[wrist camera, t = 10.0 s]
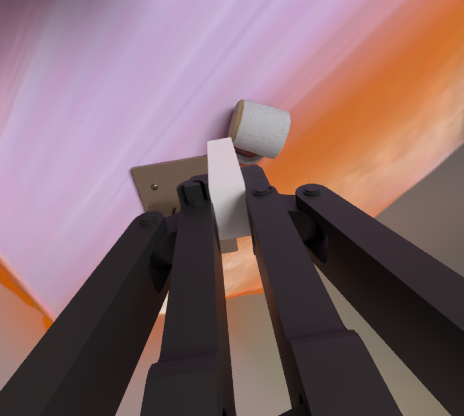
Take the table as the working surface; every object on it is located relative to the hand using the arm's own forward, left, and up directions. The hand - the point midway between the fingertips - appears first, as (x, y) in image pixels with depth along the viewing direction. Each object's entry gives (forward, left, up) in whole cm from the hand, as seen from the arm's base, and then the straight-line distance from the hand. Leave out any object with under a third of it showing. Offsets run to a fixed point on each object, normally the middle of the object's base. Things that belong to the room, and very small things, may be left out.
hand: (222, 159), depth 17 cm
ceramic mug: (+7, +6, -30) cm, 31 cm away
